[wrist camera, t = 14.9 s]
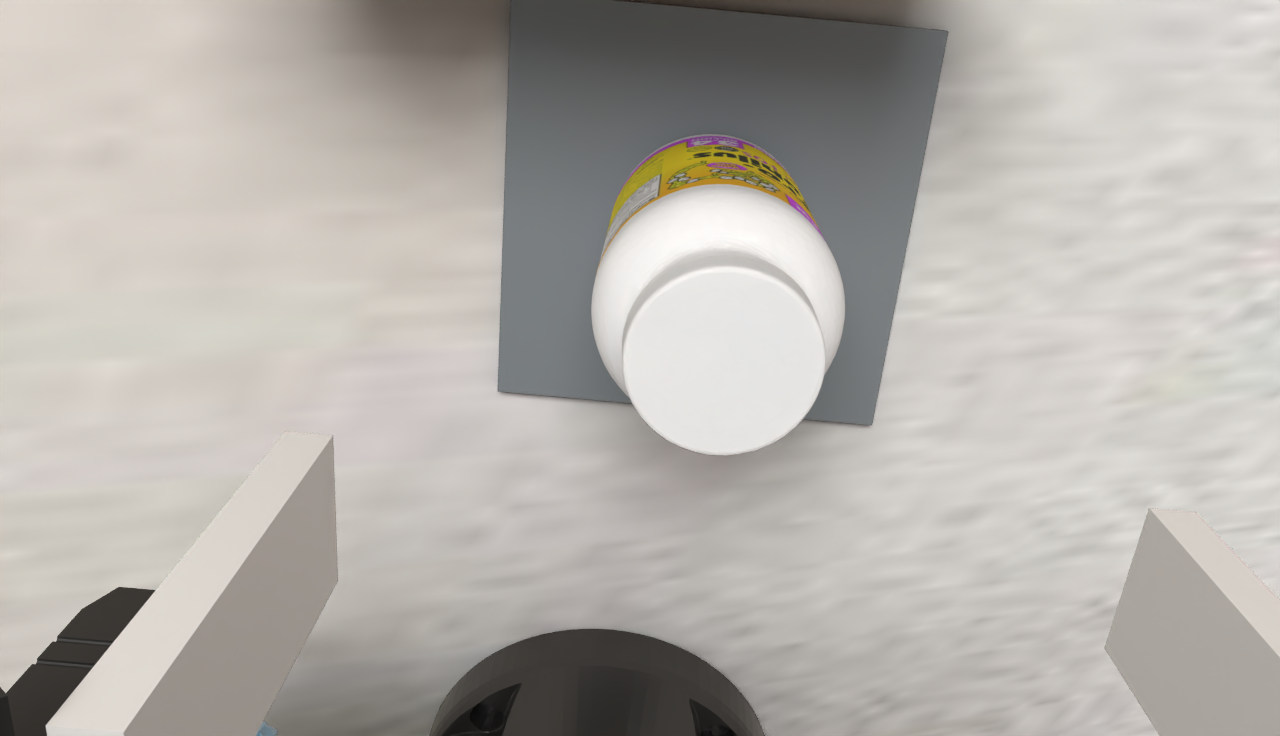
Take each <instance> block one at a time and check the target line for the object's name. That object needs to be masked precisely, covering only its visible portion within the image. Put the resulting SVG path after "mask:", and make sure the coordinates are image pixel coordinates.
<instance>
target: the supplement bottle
mask: <svg viewBox="0 0 1280 736" xmlns="http://www.w3.org/2000/svg"><path fill="white" fill-rule="evenodd" d="M591 317H592V327H593V333H594V338H595V341H596V345H597V348H598V351H599V353H600V356H601V358H602V361H603V363H604V365H605V367H606V369H607V370H608V372H609V374H610V375H611V377H612V378H613V380H614V381H615V382H616V384H617V385H618V386H619V388H620V389H621V390H622V391H623V392H624V393H625V394H626V395H627V396H628V397H629V398H630V400H631V402H632V404H633V406H634V407H635V409H636V410H637V412H638V413H639V415H640V416H641V418H642V419H643V420H644V421H645V422H646V424H647V425H649V426H650V427H651V428H652V429H653V430H654V431H655V432H656V433H657V434H659V435H660V436H661V437H663V438H664V439H666V440H668V441H670V442H671V443H673V444H675V445H677V446H679V447H682V448H684V449H687V450H690V451H693V452H697V453H702V454H708V455H722V456H723V455H736V454H743V453H747V452H751V451H755V450H758V449H760V448H763V447H765V446H767V445H770V444H772V443H774V442H775V441H777V440H779V439H780V438H782V437H783V436H785V435H787V434H788V433H789V432H790V431H791V430H793V429H794V428H795V427H796V426H797V425H798V424H799V423H800V422H801V421H802V420H803V418H804V417H805V416H806V414H807V413H808V412H809V410H810V409H811V407H812V405H813V404H814V402H815V400H816V398H817V396H818V394H819V391H820V389H821V386H822V382H823V379H824V375H825V373H826V372H827V370H828V368H829V367H830V365H831V363H832V361H833V359H834V357H835V355H836V352H837V349H838V347H839V344H840V340H841V336H842V332H843V326H844V320H845V295H844V288H843V283H842V279H841V275H840V272H839V269H838V266H837V264H836V261H835V259H834V257H833V255H832V253H831V251H830V249H829V247H828V245H827V243H826V241H825V239H824V238H823V236H822V234H821V232H820V230H819V228H818V225H817V224H816V222H815V220H814V218H813V216H812V214H811V212H810V210H809V208H808V206H807V204H806V202H805V200H804V198H803V196H802V194H801V192H800V190H799V189H798V187H797V185H796V183H795V182H794V180H793V179H792V177H791V176H790V174H789V173H788V171H787V170H786V169H785V168H784V166H783V165H782V164H781V163H780V162H779V161H778V160H776V159H775V158H774V157H773V156H772V155H771V154H769V153H768V152H767V151H765V150H764V149H762V148H760V147H759V146H757V145H755V144H753V143H751V142H748V141H746V140H743V139H740V138H736V137H733V136H728V135H720V134H701V135H694V136H689V137H685V138H681V139H678V140H675V141H673V142H670V143H668V144H666V145H664V146H662V147H660V148H659V149H657V150H655V151H654V152H653V153H651V154H650V155H649V156H647V157H646V158H645V159H644V160H643V161H642V162H641V163H640V164H639V165H638V166H637V167H636V168H635V169H634V170H633V171H632V173H631V174H630V176H629V177H628V179H627V180H626V182H625V183H624V185H623V187H622V188H621V190H620V192H619V194H618V197H617V199H616V202H615V205H614V207H613V211H612V215H611V219H610V223H609V227H608V231H607V234H606V239H605V243H604V246H603V251H602V254H601V258H600V262H599V266H598V269H597V273H596V277H595V282H594V287H593V293H592V303H591Z"/></svg>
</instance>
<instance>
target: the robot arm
mask: <svg viewBox="0 0 1280 736" xmlns="http://www.w3.org/2000/svg"><path fill="white" fill-rule="evenodd" d="M337 582H338V566H337V537H336V507H335V478H334V448H333V435H323V434H311V433H300V432H289V431H285V432H284V433H283V434H282V436H281V437H280V438H279V439H278V441H277V442H276V443H275V444H274V445H273V447H272V448H271V449H270V450H269V452H268V453H267V454H266V455H265V457H264V458H263V459H262V460H261V461H260V463H259V464H258V465H257V466H256V468H255V469H254V470H253V471H252V472H251V474H250V475H249V476H248V477H247V479H246V480H245V481H244V482H243V484H242V485H241V486H240V487H239V488H238V490H237V491H236V492H235V493H234V495H233V496H232V497H231V498H230V500H229V501H228V502H227V503H226V504H225V506H224V507H223V508H222V509H221V511H220V512H219V513H218V514H217V516H216V517H215V518H214V519H213V520H212V522H211V523H210V524H209V525H208V527H207V528H206V529H205V530H204V532H203V533H202V534H201V535H200V536H199V538H198V539H197V540H196V541H195V543H194V544H193V545H192V546H191V547H190V549H189V550H188V551H187V552H186V554H185V555H184V556H183V557H182V559H181V560H180V561H179V562H178V563H177V565H176V566H175V567H174V568H173V570H172V571H171V572H170V573H169V575H168V576H167V577H166V578H165V579H164V581H163V582H162V583H161V584H160V586H159V587H158V588H157V589H156V590H147V589H136V588H124V587H118V588H116V589H115V590H113V591H111V592H110V593H108V594H106V595H105V596H103V597H101V598H100V599H98V600H96V601H95V602H93V603H91V604H90V605H88V606H86V607H85V608H83V609H82V610H81V611H80V612H79V613H78V614H77V615H76V616H75V617H74V619H73V620H72V621H71V622H70V623H69V624H68V625H67V626H66V627H65V629H64V630H63V631H62V632H61V633H60V634H59V635H58V636H57V641H56V642H52V643H51V644H50V645H49V646H48V647H47V648H46V650H45V651H44V652H43V653H42V654H41V655H40V656H39V657H38V658H37V663H36V665H35V664H32V665H31V666H30V667H29V668H28V669H27V671H26V672H25V673H24V674H23V675H22V676H21V677H20V678H19V679H18V681H17V682H16V683H15V684H14V685H13V686H12V687H11V688H10V689H9V691H8V692H7V693H6V694H5V692H4V691H3V690H2V689H1V687H0V736H276V735H277V730H276V729H275V728H273V727H272V726H270V725H268V724H267V723H266V722H265V721H264V719H265V717H266V715H267V713H268V711H269V709H270V707H271V706H272V704H273V702H274V700H275V698H276V696H277V694H278V692H279V691H280V689H281V687H282V685H283V683H284V681H285V679H286V677H287V676H288V674H289V672H290V670H291V668H292V666H293V664H294V662H295V661H296V659H297V657H298V655H299V653H300V651H301V649H302V647H303V646H304V644H305V642H306V640H307V638H308V636H309V634H310V632H311V631H312V629H313V627H314V625H315V623H316V621H317V619H318V617H319V615H320V614H321V612H322V610H323V608H324V606H325V604H326V602H327V600H328V599H329V597H330V595H331V593H332V591H333V589H334V587H335V585H336V584H337ZM1105 650H1106V652H1107V653H1108V655H1109V656H1110V658H1111V659H1112V661H1113V663H1114V664H1115V666H1116V667H1117V669H1118V671H1119V672H1120V674H1121V675H1122V677H1123V678H1124V680H1125V682H1126V683H1127V685H1128V686H1129V688H1130V690H1131V691H1132V693H1133V694H1134V696H1135V697H1136V699H1137V701H1138V702H1139V704H1140V705H1141V707H1142V709H1143V710H1144V712H1145V713H1146V715H1147V716H1148V718H1149V720H1150V721H1151V723H1152V724H1153V726H1154V728H1155V729H1156V731H1157V732H1158V734H1159V735H1160V736H1280V599H1279V598H1278V597H1277V596H1276V595H1275V594H1274V593H1273V592H1272V591H1271V590H1270V589H1269V588H1268V587H1267V586H1266V585H1265V584H1264V583H1263V582H1262V580H1261V579H1260V578H1259V577H1258V576H1257V575H1256V574H1255V573H1254V572H1253V571H1252V570H1251V569H1250V568H1249V567H1248V566H1247V565H1246V564H1245V563H1244V562H1243V561H1242V560H1241V558H1240V557H1239V556H1238V555H1237V554H1236V553H1235V552H1234V551H1233V550H1232V549H1231V548H1230V547H1229V546H1228V545H1227V544H1226V543H1225V542H1224V541H1223V540H1222V539H1221V537H1220V536H1219V535H1218V534H1217V533H1216V532H1215V531H1214V530H1213V529H1212V528H1211V527H1210V526H1209V525H1208V524H1207V523H1206V522H1205V521H1204V520H1203V519H1202V518H1201V516H1200V515H1199V514H1198V513H1197V512H1188V511H1177V510H1165V509H1154V508H1149V510H1148V513H1147V516H1146V519H1145V523H1144V526H1143V529H1142V532H1141V535H1140V538H1139V541H1138V544H1137V548H1136V551H1135V554H1134V557H1133V560H1132V563H1131V566H1130V570H1129V573H1128V576H1127V579H1126V582H1125V585H1124V588H1123V591H1122V595H1121V598H1120V601H1119V604H1118V607H1117V610H1116V613H1115V616H1114V620H1113V623H1112V626H1111V629H1110V632H1109V635H1108V638H1107V641H1106V645H1105ZM430 736H765V735H764V733H763V730H762V727H761V725H760V723H759V721H758V718H757V716H756V715H755V713H754V711H753V709H752V708H751V706H750V705H749V703H748V702H747V700H746V699H745V698H744V696H743V695H742V694H741V693H740V692H739V690H738V689H737V688H736V687H735V686H734V685H733V684H732V683H731V682H730V681H729V680H728V679H727V678H726V677H725V676H723V675H722V674H721V673H720V672H719V671H717V670H716V669H715V668H713V667H712V666H711V665H709V664H708V663H706V662H705V661H703V660H702V659H700V658H698V657H697V656H695V655H693V654H691V653H689V652H687V651H685V650H683V649H681V648H679V647H677V646H674V645H672V644H669V643H667V642H664V641H661V640H658V639H655V638H651V637H648V636H644V635H640V634H635V633H629V632H624V631H616V630H604V629H579V630H567V631H559V632H553V633H548V634H543V635H539V636H535V637H532V638H529V639H526V640H523V641H520V642H517V643H515V644H512V645H510V646H507V647H505V648H503V649H501V650H499V651H497V652H496V653H494V654H492V655H491V656H489V657H487V658H486V659H484V660H483V661H481V662H480V663H478V664H477V665H476V666H475V667H473V668H472V669H471V670H470V671H469V672H467V673H466V674H465V675H464V676H463V677H462V678H461V679H460V680H459V681H458V682H457V684H456V685H455V686H454V687H453V688H452V690H451V691H450V692H449V694H448V695H447V697H446V698H445V700H444V702H443V703H442V705H441V707H440V709H439V711H438V713H437V715H436V718H435V721H434V723H433V726H432V730H431V733H430Z"/></svg>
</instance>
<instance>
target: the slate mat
mask: <svg viewBox="0 0 1280 736" xmlns="http://www.w3.org/2000/svg"><path fill="white" fill-rule="evenodd" d="M947 36H948V31H944V30H934V29H923V28H912V27H901V26H890V25H880V24H869V23H858V22H847V21H836V20H826V19H815V18H804V17H793V16H782V15H772V14H761V13H750V12H739V11H728V10H718V9H707V8H696V7H685V6H675V5H664V4H653V3H642V2H631V1H621V0H511V12H510V41H509V71H508V100H507V130H506V159H505V189H504V218H503V248H502V278H501V307H500V337H499V366H498V391H501V392H512V393H523V394H534V395H545V396H556V397H567V398H578V399H589V400H600V401H611V402H622V403H632V402H631V400H630V398H629V397H628V396H627V395H626V394H625V393H624V392H623V391H622V390H621V389H620V388H619V386H618V385H617V384H616V382H615V381H614V380H613V378H612V377H611V375H610V374H609V372H608V370H607V369H606V367H605V365H604V363H603V361H602V358H601V356H600V353H599V351H598V348H597V345H596V341H595V338H594V333H593V327H592V317H591V303H592V293H593V287H594V282H595V277H596V273H597V269H598V266H599V262H600V258H601V254H602V251H603V246H604V243H605V239H606V234H607V231H608V227H609V223H610V219H611V215H612V211H613V207H614V205H615V202H616V199H617V197H618V194H619V192H620V190H621V188H622V187H623V185H624V183H625V182H626V180H627V179H628V177H629V176H630V174H631V173H632V171H633V170H634V169H635V168H636V167H637V166H638V165H639V164H640V163H641V162H642V161H643V160H644V159H645V158H646V157H647V156H649V155H650V154H651V153H653V152H654V151H655V150H657V149H659V148H660V147H662V146H664V145H666V144H668V143H670V142H673V141H675V140H678V139H681V138H685V137H689V136H694V135H701V134H720V135H728V136H733V137H736V138H740V139H743V140H746V141H748V142H751V143H753V144H755V145H757V146H759V147H760V148H762V149H764V150H765V151H767V152H768V153H769V154H771V155H772V156H773V157H774V158H775V159H776V160H778V161H779V162H780V163H781V164H782V165H783V166H784V168H785V169H786V170H787V171H788V173H789V174H790V176H791V177H792V179H793V180H794V182H795V183H796V185H797V187H798V189H799V190H800V192H801V194H802V196H803V198H804V200H805V202H806V204H807V206H808V208H809V210H810V212H811V214H812V216H813V218H814V220H815V222H816V224H817V225H818V228H819V230H820V232H821V234H822V236H823V238H824V239H825V241H826V243H827V245H828V247H829V249H830V251H831V253H832V255H833V257H834V259H835V261H836V264H837V266H838V269H839V272H840V275H841V279H842V283H843V288H844V295H845V320H844V326H843V332H842V336H841V340H840V344H839V347H838V349H837V352H836V355H835V357H834V359H833V361H832V363H831V365H830V367H829V368H828V370H827V372H826V373H825V375H824V379H823V382H822V386H821V389H820V391H819V394H818V396H817V398H816V400H815V402H814V404H813V405H812V407H811V409H810V410H809V412H808V413H807V414H806V416H805V417H804V418H803V419H808V420H819V421H830V422H841V423H852V424H863V425H872V423H873V417H874V412H875V407H876V402H877V397H878V392H879V386H880V381H881V376H882V371H883V366H884V361H885V356H886V350H887V345H888V340H889V335H890V330H891V325H892V319H893V314H894V309H895V304H896V299H897V294H898V289H899V283H900V278H901V273H902V268H903V263H904V258H905V252H906V247H907V242H908V237H909V232H910V227H911V222H912V216H913V211H914V206H915V201H916V196H917V191H918V185H919V180H920V175H921V170H922V165H923V160H924V155H925V149H926V144H927V139H928V134H929V129H930V124H931V118H932V113H933V108H934V103H935V98H936V93H937V88H938V82H939V77H940V72H941V67H942V62H943V57H944V52H945V46H946V41H947Z"/></svg>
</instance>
